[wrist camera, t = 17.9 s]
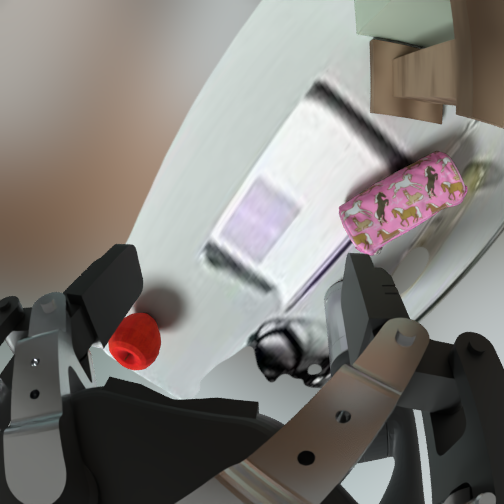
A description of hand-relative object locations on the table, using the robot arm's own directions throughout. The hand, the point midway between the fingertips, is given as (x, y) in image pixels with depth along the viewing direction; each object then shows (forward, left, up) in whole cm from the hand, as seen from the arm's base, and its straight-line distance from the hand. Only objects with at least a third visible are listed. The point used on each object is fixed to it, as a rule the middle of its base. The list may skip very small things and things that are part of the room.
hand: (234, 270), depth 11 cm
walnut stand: (-10, -21, -38) cm, 45 cm away
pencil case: (-21, -5, -38) cm, 44 cm away
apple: (+2, +49, -38) cm, 62 cm away
